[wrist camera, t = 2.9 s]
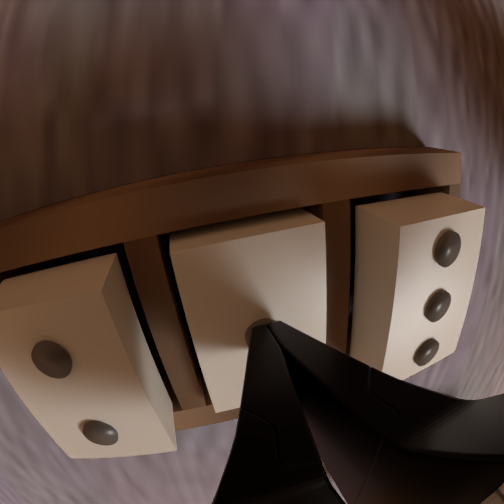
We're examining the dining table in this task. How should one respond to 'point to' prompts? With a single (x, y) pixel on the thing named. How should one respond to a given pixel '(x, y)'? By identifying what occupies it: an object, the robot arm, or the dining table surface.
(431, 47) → the dining table surface
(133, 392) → the tile two dots
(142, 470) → the dining table surface
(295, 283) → the tile one dot
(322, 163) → the walnut board
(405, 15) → the dining table surface
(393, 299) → the tile three dots
